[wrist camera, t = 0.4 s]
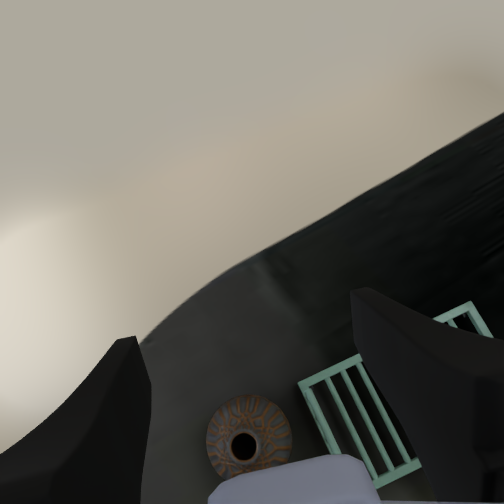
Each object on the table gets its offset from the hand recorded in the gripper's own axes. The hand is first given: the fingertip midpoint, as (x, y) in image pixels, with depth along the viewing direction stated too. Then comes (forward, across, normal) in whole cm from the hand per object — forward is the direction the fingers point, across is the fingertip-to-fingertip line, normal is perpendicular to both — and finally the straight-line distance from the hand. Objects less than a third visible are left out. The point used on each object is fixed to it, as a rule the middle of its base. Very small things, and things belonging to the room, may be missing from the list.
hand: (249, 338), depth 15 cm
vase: (+18, +1, +22) cm, 29 cm away
